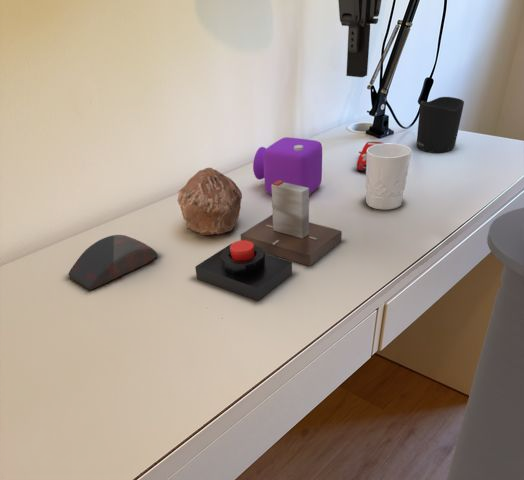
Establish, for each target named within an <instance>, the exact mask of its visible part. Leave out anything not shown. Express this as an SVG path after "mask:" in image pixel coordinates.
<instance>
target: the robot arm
mask: <svg viewBox="0 0 524 480" xmlns="http://www.w3.org/2000/svg"><path fill="white" fill-rule="evenodd" d="M337 1H338V13H339V15H338V16H339V22H340V23H341V27H342V26H343V27H348V30H347V31H348V32H347V53H346V56H347V58H346V74H345V76H346V77H351V78H352V77H355V78H365V77H367V76H368V71H369V70H368V67H369V53H370V40H371V39H370V38H371V25H377V24H378V22H379V18H378V17H379V15H380V12H381V6H382V0H337Z"/></svg>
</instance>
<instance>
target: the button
mask: <svg viewBox="0 0 524 480" xmlns="http://www.w3.org/2000/svg"><path fill="white" fill-rule="evenodd" d="M230 244H231V246H230V251H231V258H232V259H234V260H237V261H245V260H249V259H252V258H253V257H254V256H255V253H254V244H253V243H252V242H250V241H245V240H241V239H240V240H236V241H234V242H232V243H230Z"/></svg>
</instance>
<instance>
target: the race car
mask: <svg viewBox="0 0 524 480" xmlns="http://www.w3.org/2000/svg"><path fill="white" fill-rule="evenodd" d="M383 143H384V142H382V141H367V142H366V143H365V144H364V146H363V147H362V150H361V151H359V152H358V154H359V156H358V159H357V161H356V170H357V171H362V172H366V159H367V149H368V148H369V147H370V146H373V145H376V144H383Z"/></svg>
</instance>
